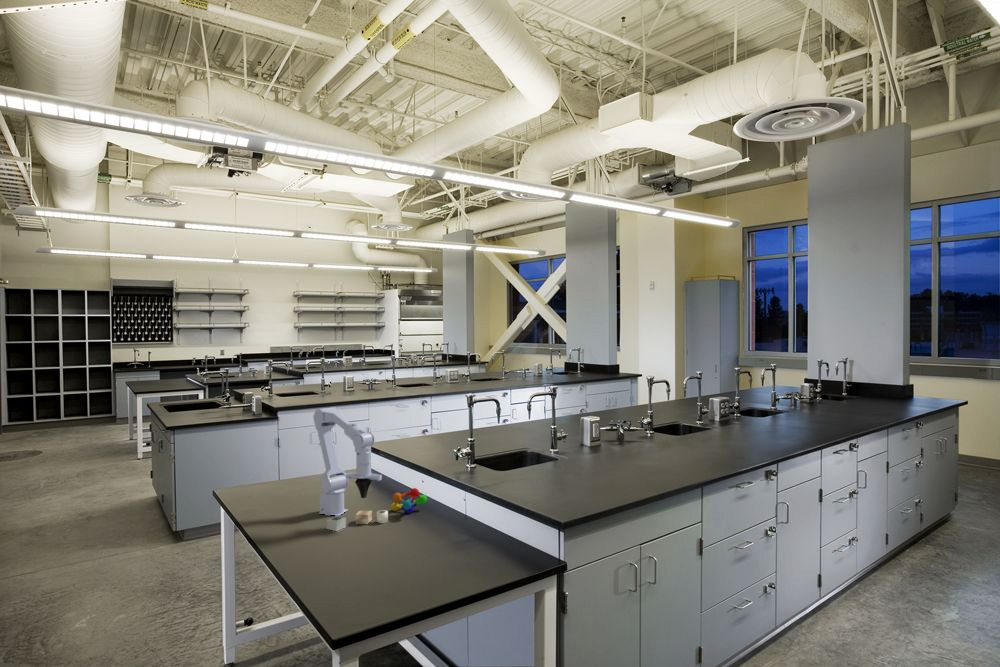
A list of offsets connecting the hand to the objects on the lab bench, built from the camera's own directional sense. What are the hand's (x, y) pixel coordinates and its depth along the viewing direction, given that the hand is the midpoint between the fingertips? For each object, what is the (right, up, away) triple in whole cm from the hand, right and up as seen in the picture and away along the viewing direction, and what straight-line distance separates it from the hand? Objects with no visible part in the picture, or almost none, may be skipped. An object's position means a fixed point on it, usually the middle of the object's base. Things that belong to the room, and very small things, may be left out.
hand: (363, 497), depth 220 cm
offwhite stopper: (+7, -10, 0) cm, 12 cm away
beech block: (0, -10, 0) cm, 10 cm away
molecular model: (+16, -10, +13) cm, 23 cm away
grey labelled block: (-9, -10, -7) cm, 15 cm away
